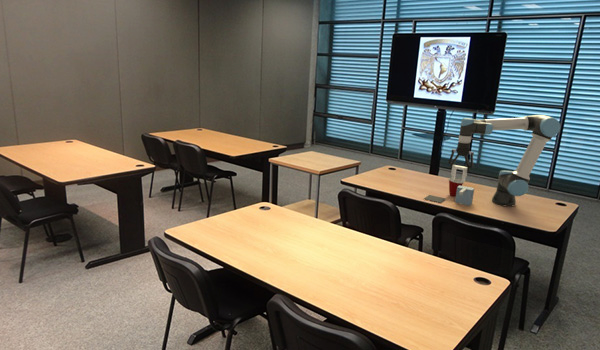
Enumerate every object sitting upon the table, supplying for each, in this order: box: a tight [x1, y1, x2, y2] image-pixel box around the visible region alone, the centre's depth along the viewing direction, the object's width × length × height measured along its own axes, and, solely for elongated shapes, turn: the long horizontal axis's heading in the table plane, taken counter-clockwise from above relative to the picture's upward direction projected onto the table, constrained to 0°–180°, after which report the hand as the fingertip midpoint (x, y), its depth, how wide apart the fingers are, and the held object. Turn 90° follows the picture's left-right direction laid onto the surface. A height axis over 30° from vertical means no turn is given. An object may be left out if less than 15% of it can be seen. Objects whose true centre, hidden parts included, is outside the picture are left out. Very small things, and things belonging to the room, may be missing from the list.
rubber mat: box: [423, 194, 447, 204], centre depth 302 cm, size 12×12×1 cm
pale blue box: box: [450, 164, 467, 184], centre depth 286 cm, size 8×4×10 cm, turn 57°
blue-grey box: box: [454, 185, 475, 207], centre depth 292 cm, size 10×16×11 cm, turn 146°
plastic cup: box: [448, 177, 464, 198], centre depth 311 cm, size 11×11×12 cm
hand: (458, 175), depth 287 cm, fingers closed on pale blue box, 8 cm apart
